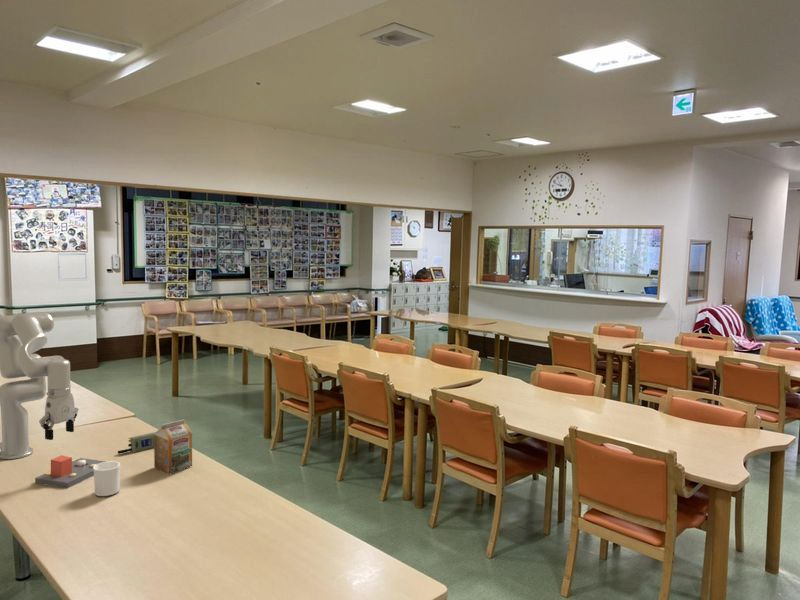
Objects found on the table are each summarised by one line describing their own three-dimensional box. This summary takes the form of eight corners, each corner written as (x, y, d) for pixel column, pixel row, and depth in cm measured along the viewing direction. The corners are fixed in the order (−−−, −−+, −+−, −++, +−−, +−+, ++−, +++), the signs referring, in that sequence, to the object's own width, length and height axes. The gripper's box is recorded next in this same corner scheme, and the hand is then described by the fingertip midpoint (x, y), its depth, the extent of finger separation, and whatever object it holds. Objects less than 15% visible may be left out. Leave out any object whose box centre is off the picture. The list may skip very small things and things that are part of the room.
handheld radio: (175, 443, 266) (119, 456, 248) (172, 442, 269) (116, 454, 251) (175, 429, 266) (119, 441, 248) (172, 428, 268) (116, 439, 250)
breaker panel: (35, 482, 218) (35, 476, 218) (80, 462, 240) (80, 456, 239) (67, 488, 215) (67, 481, 215) (111, 467, 236) (111, 460, 236)
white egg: (74, 466, 231) (74, 462, 231) (81, 464, 234) (81, 459, 234) (81, 467, 230) (81, 463, 230) (87, 465, 233) (87, 460, 233)
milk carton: (168, 474, 231) (168, 427, 229) (154, 467, 237) (154, 422, 235) (192, 466, 239) (192, 422, 237) (177, 460, 245) (177, 416, 244)
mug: (109, 499, 206) (109, 471, 206) (87, 496, 208) (87, 469, 207) (129, 487, 217) (129, 460, 216) (108, 484, 219) (108, 458, 218)
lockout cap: (50, 474, 221) (50, 459, 220) (61, 470, 226) (61, 455, 225) (61, 477, 220) (61, 461, 219) (71, 472, 224) (72, 457, 224)
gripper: (48, 398, 211) (48, 444, 212) (85, 387, 227) (85, 429, 229) (31, 396, 212) (32, 441, 214) (69, 385, 229) (69, 427, 231)
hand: (59, 435), depth 221 cm, fingers open, 9 cm apart
